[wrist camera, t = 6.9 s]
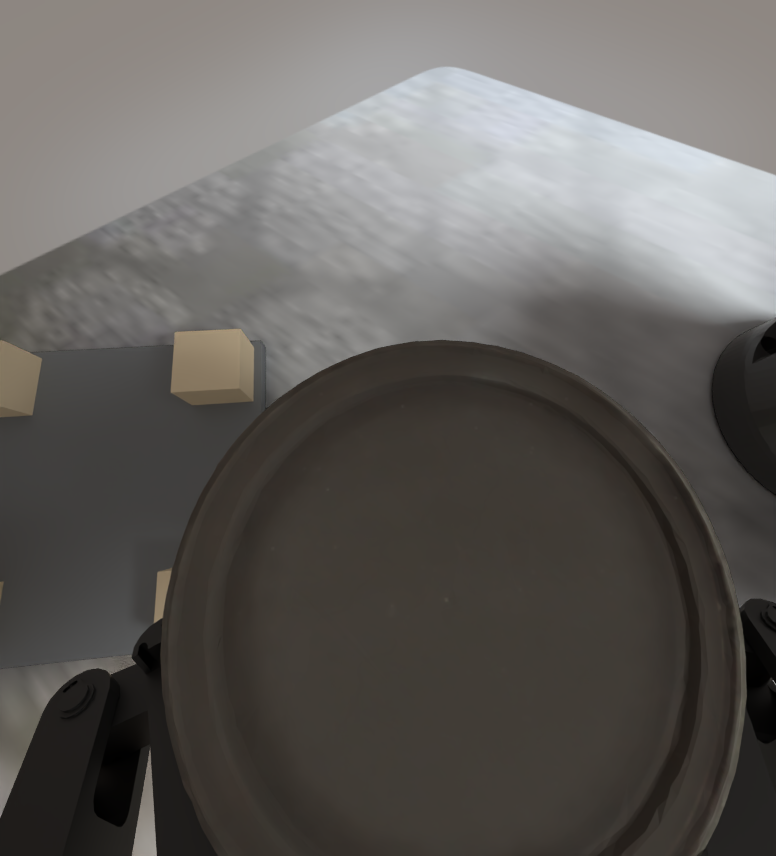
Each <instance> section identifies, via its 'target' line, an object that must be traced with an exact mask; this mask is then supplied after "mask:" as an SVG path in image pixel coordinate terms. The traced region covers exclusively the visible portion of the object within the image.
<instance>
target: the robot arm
mask: <svg viewBox="0 0 776 856" xmlns="http://www.w3.org/2000/svg"><path fill="white" fill-rule="evenodd" d="M713 402H714V408H715V413H716V417H717V420H718V423H719V426H720V428H721V431H722V433H723V435H724V437H725V439H726V441H727V443H728V445H729V446H730V448H731V450H732V451H733V453H734V454H735V456H736V457H737V458H738V460H739V461H740V462H741V464H742V465H743V466H744V467H745V468H746V469H747V471H748V472H749V473H750V474H751V475H752V476H753V477H754V478H755V479H756V480H758V481H759V482H760V483H761V484H762V485H763V486H765V487H766V488H767V489H768V490H770V491H771V492H772V493H774V494H775V495H776V318H774V319H772V320H770V321H768V322H766V323H764V324H761V325H759V326H757V327H755V328H753V329H751V330H749V331H747V332H745V333H743V334H741V335H740V336H738V337H737V338H736V339H734V340H733V341H732V342H731V343H730V344H729V345H728V346H727V348H726V349H725V350H724V352H723V353H722V355H721V357H720V359H719V361H718V363H717V366H716V369H715V372H714V378H713ZM739 611H740V617H741V622H742V628H743V637H744V646H745V655H746V689H747V699H746V707H745V717H744V726H743V732H742V738H741V744H740V751H739V758H738V763H737V767H736V772H735V776H734V779H733V781H732V784H731V787H730V790H729V794H728V797H727V800H726V803H725V806H724V808H723V811H722V814H721V816H720V819H719V822H718V824H717V826H716V828H715V830H714V832H713V834H712V836H711V838H710V840H709V842H708V844H707V846H706V848H705V850H704V851H703V853H702V855H701V856H776V685H775V684H774V682H775V683H776V604H775V603H773V602H770V601H767V600H763V599H750V600H748V601H747V602H745V603H744V604H743V606H742V607H741V608H739ZM162 619H163V618H162ZM162 619H160V620H158V621H157V622H155V623H154V624H152V625H151V626H149V628H148V629H147V630H146V631H145V632H144V633H143V634H142V635H141V636H140V637H139V639H138V641H137V643H136V644H135V646H134V648H133V653H132V659H133V660H134V661H135V662H136V664H135V665H133V666H130V667H128V668H126V669H123V670H121V671H119V672H116V673H114V674H111V675H110V674H109V673H108V672H107V671H106V670H102V669H99V668H97V669H91V670H87V671H85V672H83V673H81V674H79V675H77V676H75V677H73V678H72V679H71V680H69V681H68V682H67V683H66V684H64V685H63V686H62V687H61V688H60V689H59V690H58V691H57V692H56V693H55V695H54V696H53V697H52V698H51V699H50V701H49V703H48V704H47V706H46V708H45V710H44V711H43V713H42V716H41V718H40V721H39V723H38V726H37V728H36V731H35V733H34V736H33V738H32V741H31V743H30V746H29V748H28V751H27V753H26V756H25V758H24V761H23V763H22V766H21V768H20V770H19V773H18V775H17V778H16V780H15V783H14V785H13V788H12V790H11V793H10V795H9V798H8V800H7V803H6V805H5V808H4V810H3V813H2V815H1V818H0V856H132V850H133V845H134V839H135V833H136V827H137V821H138V815H139V809H140V803H141V797H142V792H143V786H144V780H145V774H146V768H147V762H148V756H149V750H150V748H151V765H152V781H153V798H154V814H155V831H156V847H157V856H218V855H217V853H216V852H215V850H214V848H213V847H212V845H211V843H210V841H209V840H208V838H207V836H206V834H205V833H204V831H203V829H202V827H201V825H200V822H199V820H198V818H197V815H196V812H195V809H194V806H193V803H192V801H191V799H190V797H189V796H188V794H187V792H186V790H185V788H184V786H183V782H182V779H181V775H180V772H179V768H178V765H177V761H176V758H175V754H174V751H173V747H172V743H171V739H170V734H169V730H168V726H167V722H166V714H165V705H164V700H163V694H162V678H161V656H160V654H161V638H162ZM772 680H774V682H773V681H772Z"/></svg>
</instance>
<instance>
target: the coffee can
mask: <svg viewBox="0 0 776 856" xmlns="http://www.w3.org/2000/svg"><path fill="white" fill-rule="evenodd" d="M160 656H161V678H162V694H163V700H164V705H165V714H166V722H167V726H168V730H169V734H170V739H171V743H172V747H173V751H174V754H175V758H176V761H177V765H178V768H179V772H180V775H181V779H182V782H183V786H184V788H185V790H186V792H187V794H188V796H189V797H190V799H191V801H192V803H193V806H194V809H195V812H196V815H197V818H198V820H199V822H200V825H201V827H202V829H203V831H204V833H205V834H206V836H207V838H208V840H209V841H210V843H211V845H212V847H213V848H214V850H215V852H216V853H217V855H218V856H701V855H702V853H703V851H704V850H705V848H706V846H707V844H708V842H709V840H710V838H711V836H712V834H713V832H714V830H715V828H716V826H717V824H718V822H719V819H720V816H721V814H722V811H723V808H724V806H725V803H726V800H727V797H728V794H729V790H730V787H731V784H732V781H733V779H734V776H735V772H736V767H737V763H738V758H739V751H740V744H741V738H742V732H743V726H744V717H745V707H746V699H747V689H746V655H745V646H744V637H743V628H742V622H741V617H740V611H739V606H738V601H737V597H736V592H735V587H734V583H733V580H732V577H731V573H730V570H729V567H728V564H727V561H726V558H725V555H724V553H723V550H722V547H721V544H720V542H719V540H718V538H717V536H716V534H715V532H714V529H713V526H712V524H711V522H710V520H709V518H708V516H707V514H706V513H705V511H704V508H703V506H702V504H701V502H700V500H699V499H698V497H697V495H696V493H695V491H694V490H693V488H692V487H691V485H690V483H689V482H688V480H687V479H686V477H685V475H684V474H683V472H682V470H681V469H680V468H679V466H678V465H677V464H676V462H675V461H674V460H673V459H672V458H671V456H670V455H669V454H668V453H667V452H666V450H665V449H664V447H663V446H662V445H661V444H660V443H659V442H658V441H657V439H656V438H655V437H654V436H653V435H652V434H651V433H650V432H649V431H648V430H647V429H646V428H645V427H644V426H643V425H642V424H641V423H640V422H639V421H638V420H637V419H636V418H634V417H633V416H632V415H631V414H630V413H629V412H628V411H627V410H625V409H624V408H623V407H622V406H620V405H619V404H618V403H617V402H615V401H614V400H613V399H611V398H610V397H609V396H607V395H606V394H605V393H604V392H602V391H601V390H599V389H598V388H596V387H595V386H593V385H591V384H590V383H588V382H587V381H585V380H584V379H582V378H580V377H579V376H577V375H575V374H573V373H571V372H568V371H566V370H564V369H562V368H560V367H558V366H556V365H554V364H551V363H549V362H546V361H544V360H541V359H539V358H536V357H533V356H530V355H528V354H525V353H522V352H519V351H514V350H510V349H506V348H503V347H499V346H493V345H485V344H480V343H475V342H462V341H449V340H435V341H420V342H419V341H415V342H409V343H403V344H396V345H391V346H386V347H381V348H377V349H374V350H371V351H368V352H365V353H362V354H359V355H356V356H353V357H350V358H348V359H346V360H343V361H341V362H339V363H337V364H335V365H332V366H330V367H328V368H326V369H324V370H322V371H320V372H318V373H317V374H315V375H313V376H312V377H310V378H308V379H307V380H305V381H303V382H301V383H300V384H298V385H297V386H296V387H294V388H293V389H291V390H290V391H289V392H287V393H286V394H284V395H283V396H281V397H280V398H279V399H277V400H276V401H275V402H274V403H273V404H272V405H271V406H269V407H268V408H267V409H266V410H265V411H264V412H262V413H261V414H260V415H259V416H258V417H257V418H256V419H255V420H254V421H253V422H252V423H251V424H250V425H249V426H248V427H247V428H246V429H245V430H244V432H243V433H242V434H241V435H240V436H239V437H238V438H237V439H236V441H235V442H234V443H233V444H232V446H231V447H230V448H229V450H228V451H227V452H226V454H225V455H224V457H223V458H222V459H221V461H220V462H219V463H218V464H217V467H216V469H215V471H214V472H213V474H212V476H211V477H210V479H209V481H208V482H207V484H206V485H205V487H204V489H203V491H202V493H201V495H200V497H199V498H198V501H197V503H196V505H195V507H194V509H193V511H192V513H191V516H190V518H189V521H188V523H187V526H186V529H185V531H184V534H183V537H182V540H181V543H180V545H179V548H178V551H177V555H176V559H175V562H174V565H173V567H172V571H171V576H170V581H169V586H168V590H167V594H166V599H165V605H164V611H163V619H162V638H161V654H160Z"/></svg>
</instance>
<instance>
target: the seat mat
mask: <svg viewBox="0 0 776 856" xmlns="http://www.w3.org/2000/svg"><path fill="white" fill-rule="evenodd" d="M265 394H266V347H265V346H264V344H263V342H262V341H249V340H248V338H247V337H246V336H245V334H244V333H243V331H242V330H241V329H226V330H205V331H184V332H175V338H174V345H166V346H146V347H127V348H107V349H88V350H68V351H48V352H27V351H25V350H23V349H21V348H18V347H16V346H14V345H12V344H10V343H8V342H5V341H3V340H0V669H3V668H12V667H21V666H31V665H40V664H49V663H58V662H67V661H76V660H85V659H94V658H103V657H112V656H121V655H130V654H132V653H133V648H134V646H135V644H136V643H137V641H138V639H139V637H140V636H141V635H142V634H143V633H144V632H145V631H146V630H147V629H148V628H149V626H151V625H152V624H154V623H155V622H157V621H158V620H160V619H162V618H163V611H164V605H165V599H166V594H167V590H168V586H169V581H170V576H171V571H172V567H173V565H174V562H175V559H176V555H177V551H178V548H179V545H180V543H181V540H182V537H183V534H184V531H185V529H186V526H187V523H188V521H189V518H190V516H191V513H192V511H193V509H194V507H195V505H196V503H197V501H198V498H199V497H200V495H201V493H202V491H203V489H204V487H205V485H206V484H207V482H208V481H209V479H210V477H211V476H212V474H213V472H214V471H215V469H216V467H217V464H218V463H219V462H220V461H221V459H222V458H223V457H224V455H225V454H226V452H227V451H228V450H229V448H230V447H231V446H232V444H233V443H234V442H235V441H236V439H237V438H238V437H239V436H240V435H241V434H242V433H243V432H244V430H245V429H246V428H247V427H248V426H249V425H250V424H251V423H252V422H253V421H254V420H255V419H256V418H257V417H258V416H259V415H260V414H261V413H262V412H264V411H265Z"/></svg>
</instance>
